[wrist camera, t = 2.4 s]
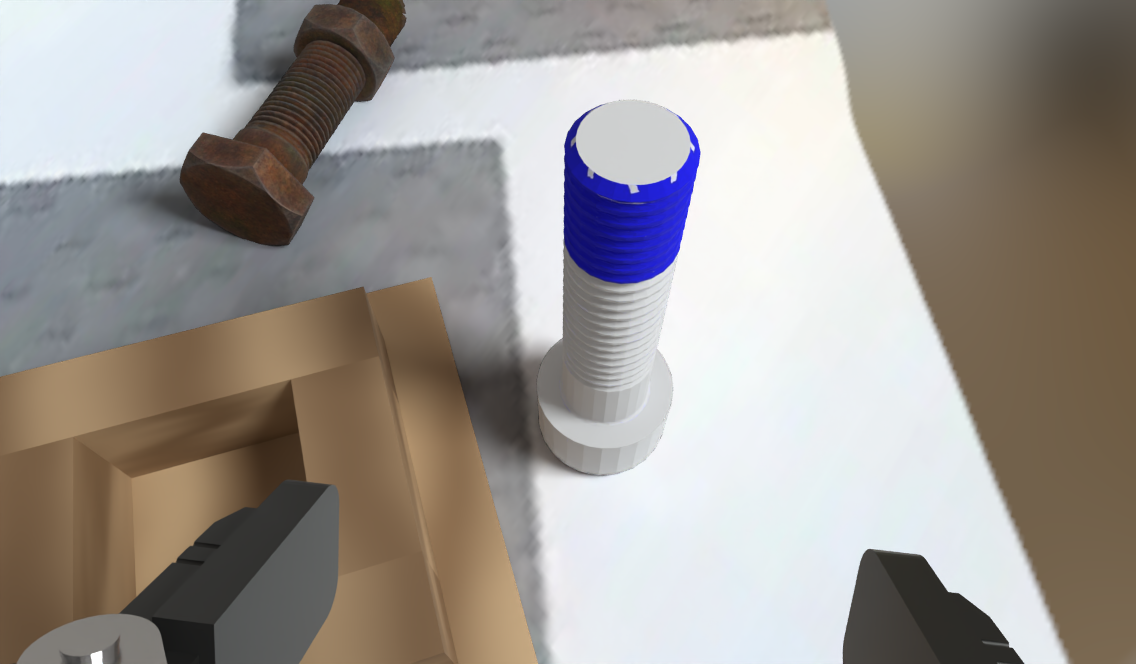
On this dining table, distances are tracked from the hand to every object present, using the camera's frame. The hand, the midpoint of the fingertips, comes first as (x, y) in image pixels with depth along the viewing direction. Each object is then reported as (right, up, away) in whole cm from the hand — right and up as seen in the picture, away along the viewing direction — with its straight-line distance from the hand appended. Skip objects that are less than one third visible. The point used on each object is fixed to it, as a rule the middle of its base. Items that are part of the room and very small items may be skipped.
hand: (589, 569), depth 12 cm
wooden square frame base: (-12, -4, +17) cm, 21 cm away
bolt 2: (+1, 0, +19) cm, 20 cm away
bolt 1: (-12, +14, +28) cm, 33 cm away
